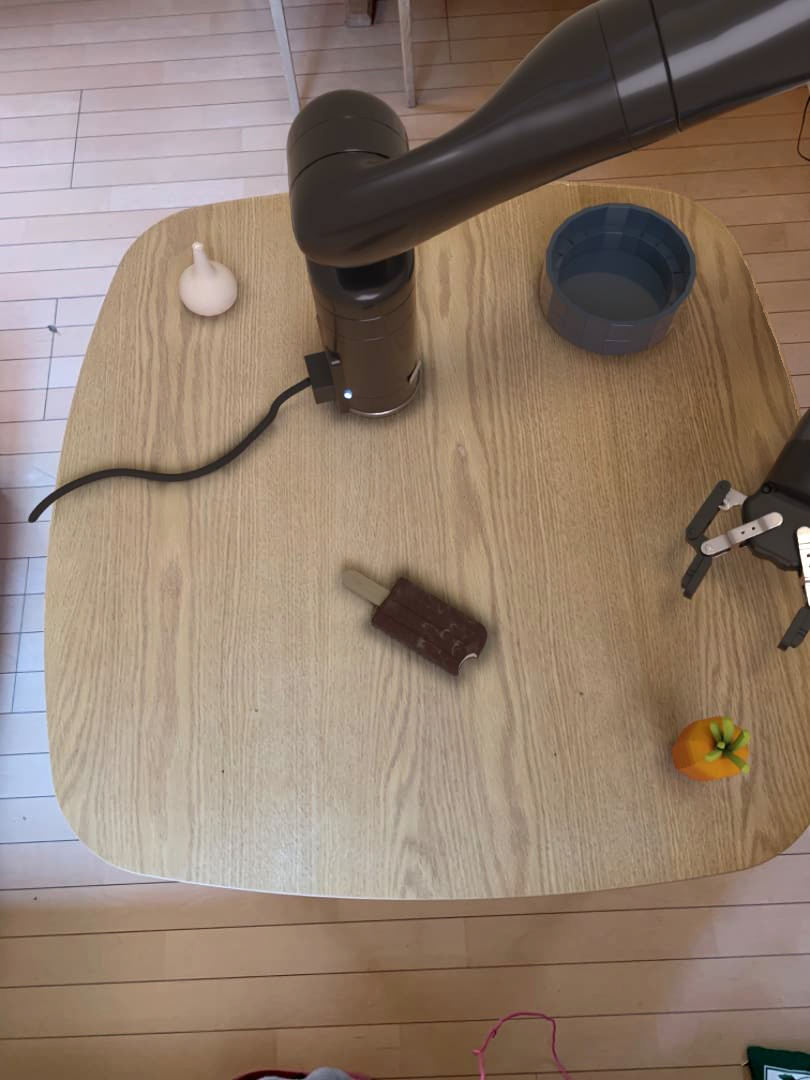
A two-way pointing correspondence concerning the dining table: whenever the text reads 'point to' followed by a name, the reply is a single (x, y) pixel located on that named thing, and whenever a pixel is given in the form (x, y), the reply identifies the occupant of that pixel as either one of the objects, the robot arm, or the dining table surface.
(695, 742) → the carrot
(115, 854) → the dining table surface
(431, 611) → the ice cream bar
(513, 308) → the dining table surface
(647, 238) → the bowl
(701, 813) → the dining table surface
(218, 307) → the garlic bulb
